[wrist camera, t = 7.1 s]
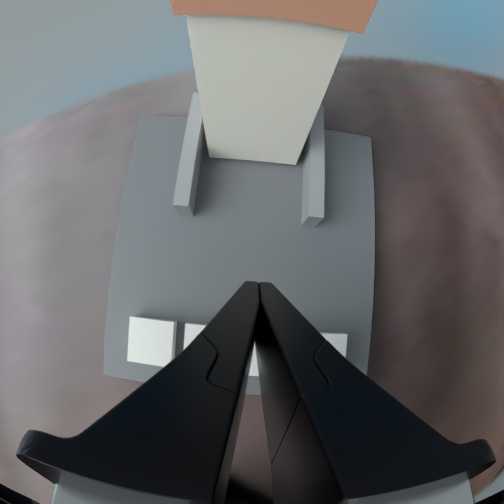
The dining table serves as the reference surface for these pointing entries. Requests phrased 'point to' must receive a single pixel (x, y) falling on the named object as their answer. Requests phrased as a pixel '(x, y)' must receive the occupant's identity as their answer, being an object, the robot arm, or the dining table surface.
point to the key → (266, 69)
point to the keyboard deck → (237, 241)
